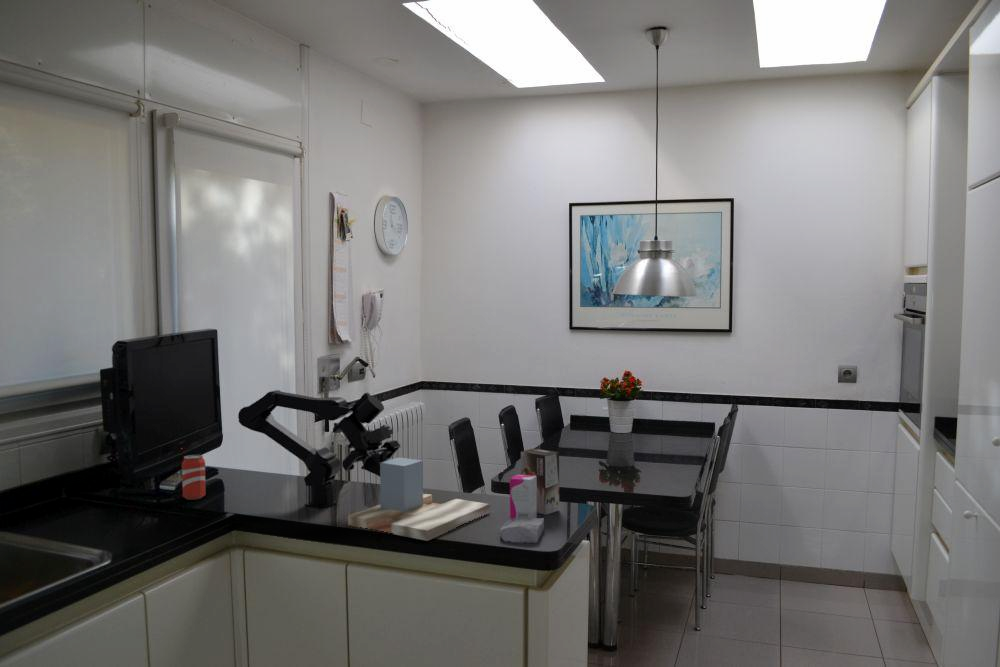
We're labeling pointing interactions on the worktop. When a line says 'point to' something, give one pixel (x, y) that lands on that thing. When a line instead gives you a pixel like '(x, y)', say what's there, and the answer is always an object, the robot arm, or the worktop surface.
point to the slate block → (401, 484)
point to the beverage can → (193, 477)
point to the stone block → (522, 529)
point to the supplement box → (523, 496)
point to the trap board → (420, 518)
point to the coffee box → (543, 477)
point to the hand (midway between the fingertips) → (389, 479)
